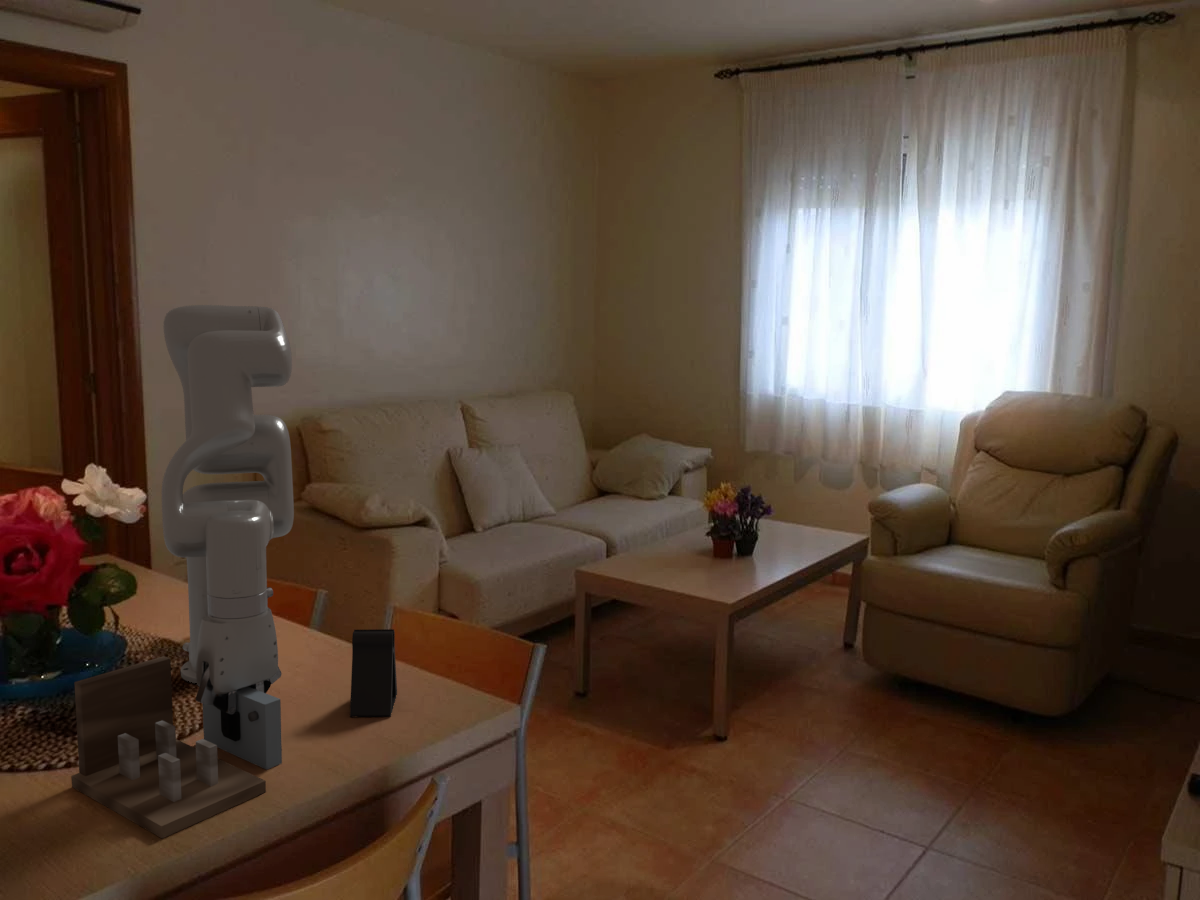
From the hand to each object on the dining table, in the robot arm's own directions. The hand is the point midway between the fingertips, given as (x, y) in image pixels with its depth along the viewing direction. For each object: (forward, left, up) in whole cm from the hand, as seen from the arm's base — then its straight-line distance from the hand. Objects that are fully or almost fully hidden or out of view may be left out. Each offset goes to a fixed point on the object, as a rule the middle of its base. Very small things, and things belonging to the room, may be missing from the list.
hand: (241, 733), depth 136 cm
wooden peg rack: (+2, -12, -3) cm, 12 cm away
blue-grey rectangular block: (0, 0, -3) cm, 3 cm away
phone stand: (+2, +22, -3) cm, 22 cm away
